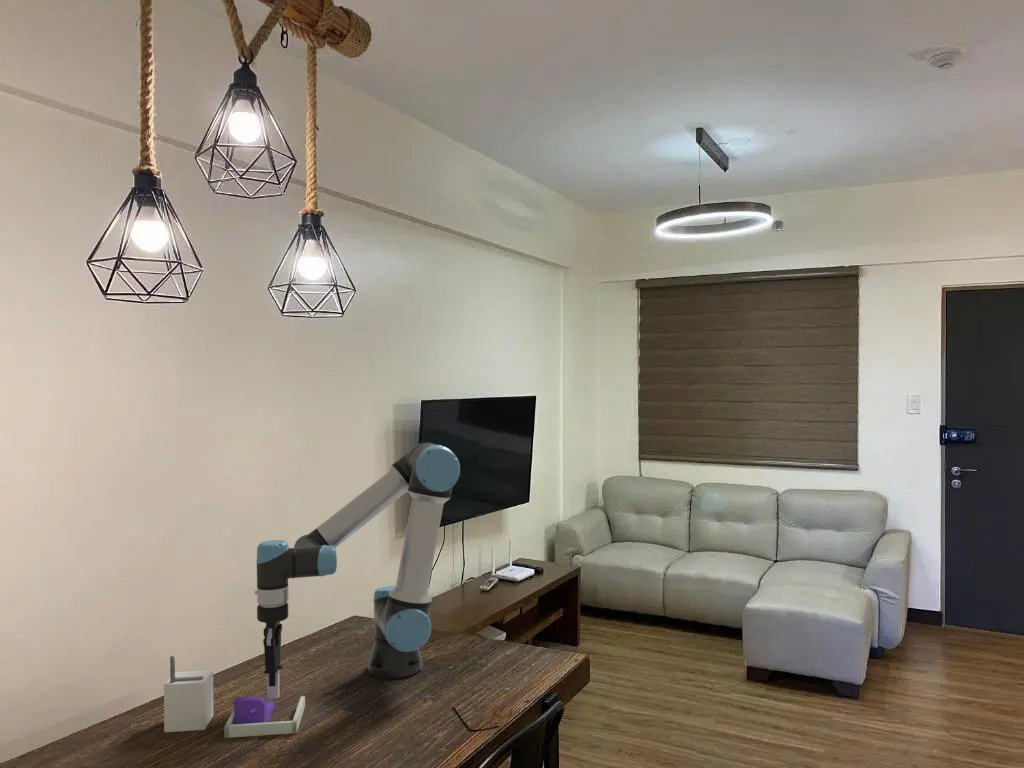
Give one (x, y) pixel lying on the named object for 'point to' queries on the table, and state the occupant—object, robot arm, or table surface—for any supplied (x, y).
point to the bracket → (252, 710)
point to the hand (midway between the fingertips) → (273, 697)
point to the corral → (264, 725)
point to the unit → (188, 700)
